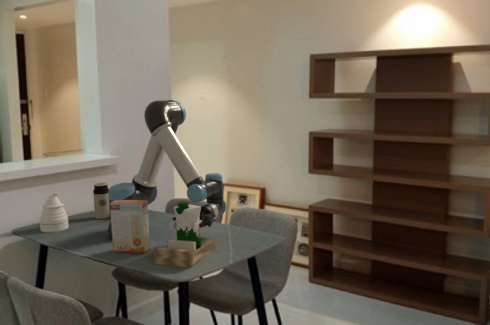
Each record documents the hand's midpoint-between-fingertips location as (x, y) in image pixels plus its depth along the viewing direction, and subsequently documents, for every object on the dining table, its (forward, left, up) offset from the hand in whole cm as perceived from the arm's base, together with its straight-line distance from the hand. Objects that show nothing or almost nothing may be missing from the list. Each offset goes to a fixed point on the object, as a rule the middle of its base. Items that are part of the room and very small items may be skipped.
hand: (182, 226), depth 190 cm
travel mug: (-72, +49, -13) cm, 88 cm away
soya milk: (0, +4, -11) cm, 12 cm away
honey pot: (-82, +24, -13) cm, 87 cm away
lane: (0, +3, -12) cm, 13 cm away
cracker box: (-25, +3, -13) cm, 28 cm away
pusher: (0, -1, -12) cm, 12 cm away
